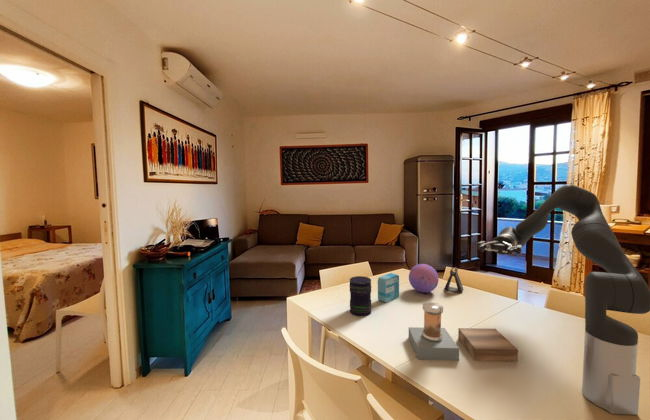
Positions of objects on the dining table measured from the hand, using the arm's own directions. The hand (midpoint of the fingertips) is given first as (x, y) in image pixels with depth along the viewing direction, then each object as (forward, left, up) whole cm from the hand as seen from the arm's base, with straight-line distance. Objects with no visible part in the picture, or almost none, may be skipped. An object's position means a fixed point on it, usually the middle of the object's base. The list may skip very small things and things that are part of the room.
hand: (494, 250), depth 101 cm
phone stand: (+45, -3, -32) cm, 56 cm away
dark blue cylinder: (+17, +49, -32) cm, 61 cm away
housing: (-10, +26, -28) cm, 39 cm away
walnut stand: (-11, +8, -32) cm, 35 cm away
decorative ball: (+42, +14, -32) cm, 55 cm away
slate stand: (-11, +26, -32) cm, 42 cm away
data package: (+32, +34, -32) cm, 57 cm away
